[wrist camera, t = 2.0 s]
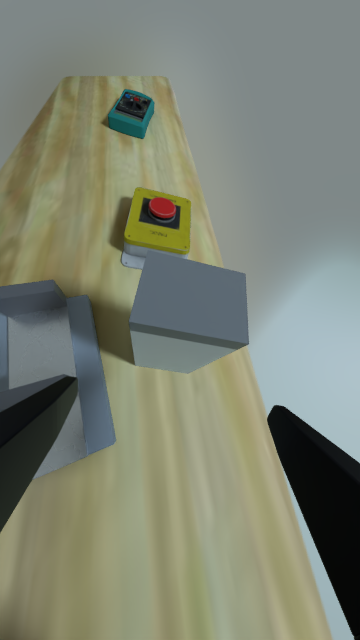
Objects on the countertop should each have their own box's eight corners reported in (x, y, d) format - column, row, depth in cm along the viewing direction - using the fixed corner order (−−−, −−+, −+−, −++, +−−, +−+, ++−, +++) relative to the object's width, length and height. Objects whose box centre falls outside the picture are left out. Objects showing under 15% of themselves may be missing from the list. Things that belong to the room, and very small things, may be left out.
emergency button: (194, 186, 28) (193, 258, 22) (188, 212, 32) (185, 279, 26) (135, 170, 27) (116, 243, 20) (136, 199, 30) (120, 268, 24)
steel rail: (88, 454, 14) (87, 456, 14) (13, 486, 13) (10, 489, 12) (67, 297, 19) (65, 296, 19) (10, 307, 18) (8, 305, 17)
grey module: (188, 373, 20) (248, 343, 9) (135, 365, 19) (128, 321, 8) (191, 335, 22) (245, 271, 11) (143, 326, 21) (148, 247, 10)
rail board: (116, 440, 16) (114, 444, 15) (-6, 490, 14) (-22, 501, 12) (90, 301, 21) (87, 294, 20) (-4, 317, 18) (-15, 311, 17)
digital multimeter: (154, 114, 44) (155, 96, 42) (143, 142, 38) (143, 123, 35) (124, 104, 43) (123, 85, 41) (108, 131, 37) (106, 111, 34)
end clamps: (78, 391, 16) (65, 390, 13) (9, 413, 14) (-22, 417, 11) (65, 296, 19) (53, 279, 16) (7, 305, 17) (-17, 288, 14)
